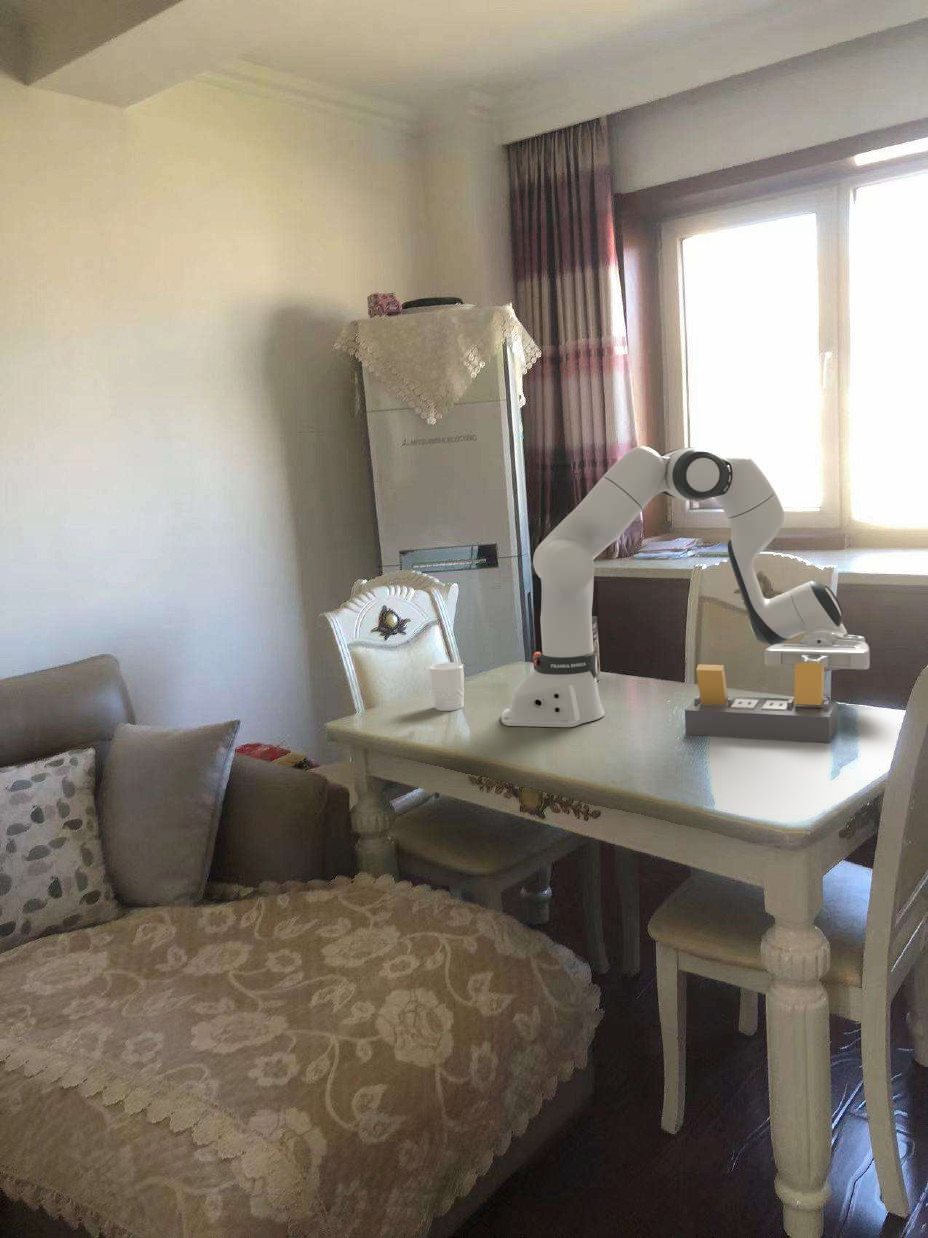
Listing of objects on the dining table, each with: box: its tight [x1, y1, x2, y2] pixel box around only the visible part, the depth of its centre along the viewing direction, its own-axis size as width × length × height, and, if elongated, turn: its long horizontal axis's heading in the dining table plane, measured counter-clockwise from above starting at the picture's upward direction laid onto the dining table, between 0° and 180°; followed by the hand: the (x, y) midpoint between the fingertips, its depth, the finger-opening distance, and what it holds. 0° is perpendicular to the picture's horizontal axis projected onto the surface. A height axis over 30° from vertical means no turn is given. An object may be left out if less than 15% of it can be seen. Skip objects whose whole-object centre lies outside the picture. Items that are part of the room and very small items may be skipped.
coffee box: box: [592, 615, 601, 682], centre depth 245 cm, size 9×6×16 cm
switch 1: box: [695, 664, 729, 704], centre depth 198 cm, size 5×2×8 cm, turn 63°
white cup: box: [429, 661, 465, 712], centre depth 232 cm, size 8×8×10 cm
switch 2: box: [793, 663, 825, 706], centre depth 192 cm, size 5×2×8 cm, turn 63°
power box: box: [684, 694, 838, 744], centre depth 196 cm, size 27×12×6 cm, turn 63°
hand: (812, 664), depth 197 cm, fingers closed
